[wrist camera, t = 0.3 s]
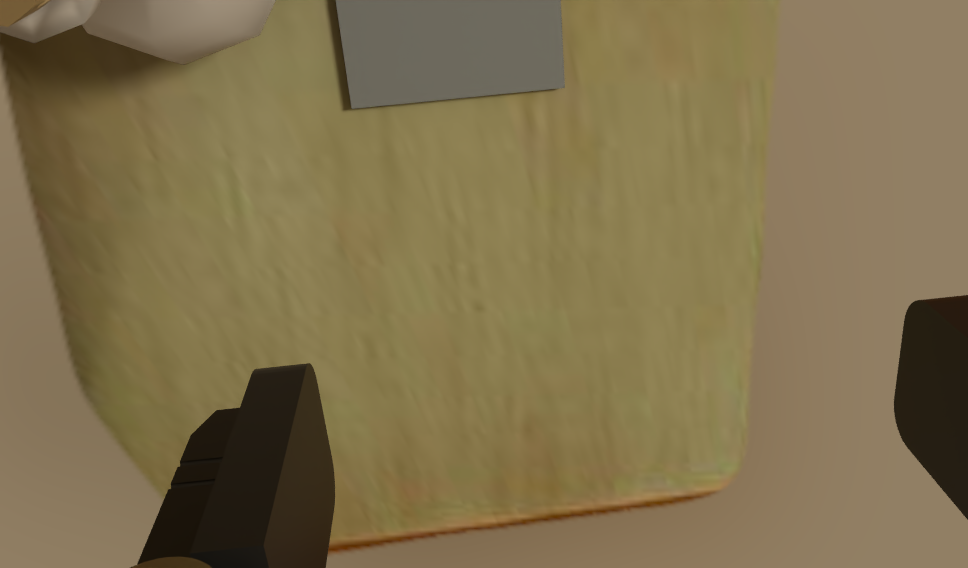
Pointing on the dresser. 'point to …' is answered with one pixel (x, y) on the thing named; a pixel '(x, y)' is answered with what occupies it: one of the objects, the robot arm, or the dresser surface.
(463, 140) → the dresser surface
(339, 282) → the dresser surface
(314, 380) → the robot arm
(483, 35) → the mat
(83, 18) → the potion bottle
